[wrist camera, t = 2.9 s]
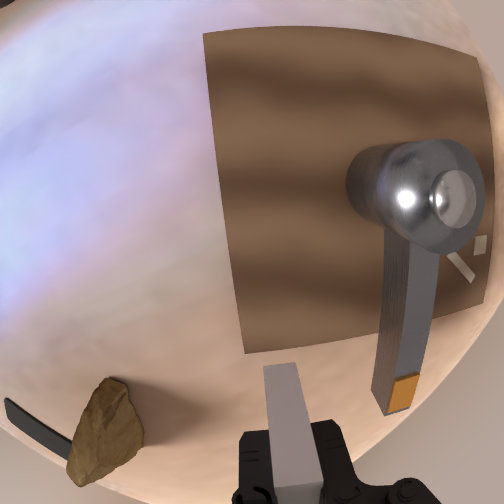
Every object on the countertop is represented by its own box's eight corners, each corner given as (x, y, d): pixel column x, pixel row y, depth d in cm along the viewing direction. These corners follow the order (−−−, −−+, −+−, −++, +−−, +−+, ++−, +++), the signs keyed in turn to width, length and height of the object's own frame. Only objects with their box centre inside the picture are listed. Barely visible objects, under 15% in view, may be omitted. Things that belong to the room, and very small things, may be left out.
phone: (3, 395, 25) (89, 453, 27) (5, 392, 26) (90, 449, 28) (7, 419, 26) (85, 470, 29) (9, 416, 27) (86, 466, 29)
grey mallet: (342, 146, 16) (407, 134, 9) (410, 146, 16) (491, 142, 9) (344, 377, 21) (375, 448, 13) (399, 363, 21) (441, 424, 13)
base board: (206, 45, 16) (202, 32, 14) (463, 62, 16) (477, 57, 14) (244, 338, 22) (244, 354, 20) (470, 295, 22) (483, 303, 20)
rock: (75, 365, 20) (49, 418, 21) (102, 452, 15) (70, 489, 15) (165, 380, 28) (127, 425, 29) (203, 444, 23) (156, 482, 23)
